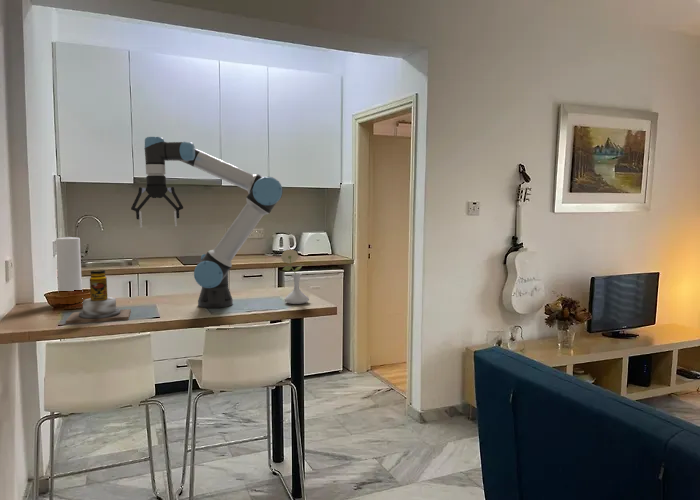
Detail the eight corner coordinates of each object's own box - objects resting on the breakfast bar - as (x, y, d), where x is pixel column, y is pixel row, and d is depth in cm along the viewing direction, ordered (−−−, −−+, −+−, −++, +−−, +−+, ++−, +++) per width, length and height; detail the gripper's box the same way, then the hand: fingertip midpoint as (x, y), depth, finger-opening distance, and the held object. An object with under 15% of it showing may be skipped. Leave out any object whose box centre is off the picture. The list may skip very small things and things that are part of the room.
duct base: (131, 311, 222) (130, 295, 221) (128, 319, 208) (127, 301, 207) (72, 315, 215) (71, 297, 214) (66, 323, 201) (65, 305, 200)
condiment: (96, 302, 205) (95, 272, 204) (82, 300, 209) (81, 270, 208) (113, 299, 212) (111, 269, 210) (99, 297, 216) (98, 268, 214)
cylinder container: (72, 305, 234) (69, 238, 232) (54, 304, 236) (51, 237, 233) (87, 301, 244) (84, 236, 241) (69, 300, 246) (66, 236, 243)
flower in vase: (311, 301, 247) (311, 248, 245) (306, 306, 236) (306, 250, 234) (283, 300, 249) (283, 247, 246) (278, 305, 237) (277, 250, 235)
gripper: (187, 175, 224) (189, 225, 226) (123, 175, 216) (126, 227, 218) (188, 174, 217) (190, 226, 219) (122, 175, 209) (125, 228, 211)
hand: (158, 227), depth 219 cm, fingers open, 13 cm apart
